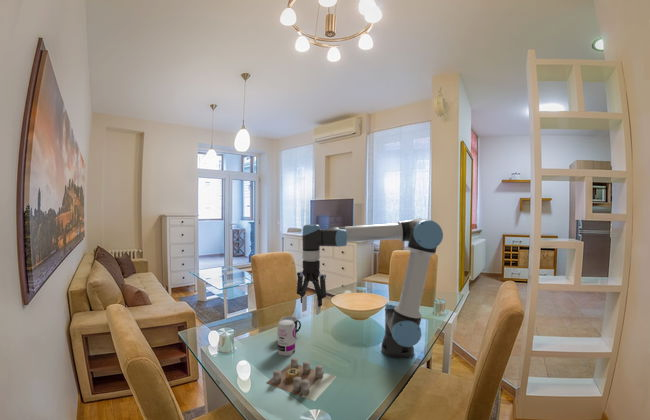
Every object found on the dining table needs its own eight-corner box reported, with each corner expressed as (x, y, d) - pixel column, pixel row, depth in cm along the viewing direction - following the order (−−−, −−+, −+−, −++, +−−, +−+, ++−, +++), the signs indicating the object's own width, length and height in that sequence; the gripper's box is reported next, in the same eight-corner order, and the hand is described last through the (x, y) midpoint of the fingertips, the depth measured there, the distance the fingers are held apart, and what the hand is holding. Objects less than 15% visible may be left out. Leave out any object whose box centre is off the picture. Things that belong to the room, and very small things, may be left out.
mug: (285, 344, 147) (285, 324, 147) (277, 337, 154) (277, 318, 154) (305, 337, 155) (305, 318, 155) (296, 331, 162) (296, 313, 162)
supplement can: (295, 349, 142) (295, 318, 142) (294, 358, 134) (294, 325, 133) (278, 349, 141) (278, 318, 141) (276, 358, 133) (276, 325, 133)
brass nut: (300, 375, 117) (300, 369, 117) (293, 382, 113) (293, 376, 113) (292, 372, 120) (291, 366, 119) (284, 379, 115) (284, 372, 115)
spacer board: (336, 379, 117) (336, 366, 117) (314, 404, 102) (314, 390, 102) (291, 365, 127) (291, 353, 127) (265, 386, 113) (265, 372, 113)
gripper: (334, 260, 127) (334, 313, 127) (297, 256, 136) (297, 306, 136) (326, 263, 120) (326, 319, 120) (288, 259, 129) (288, 311, 130)
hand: (311, 312), depth 128 cm, fingers open, 6 cm apart
